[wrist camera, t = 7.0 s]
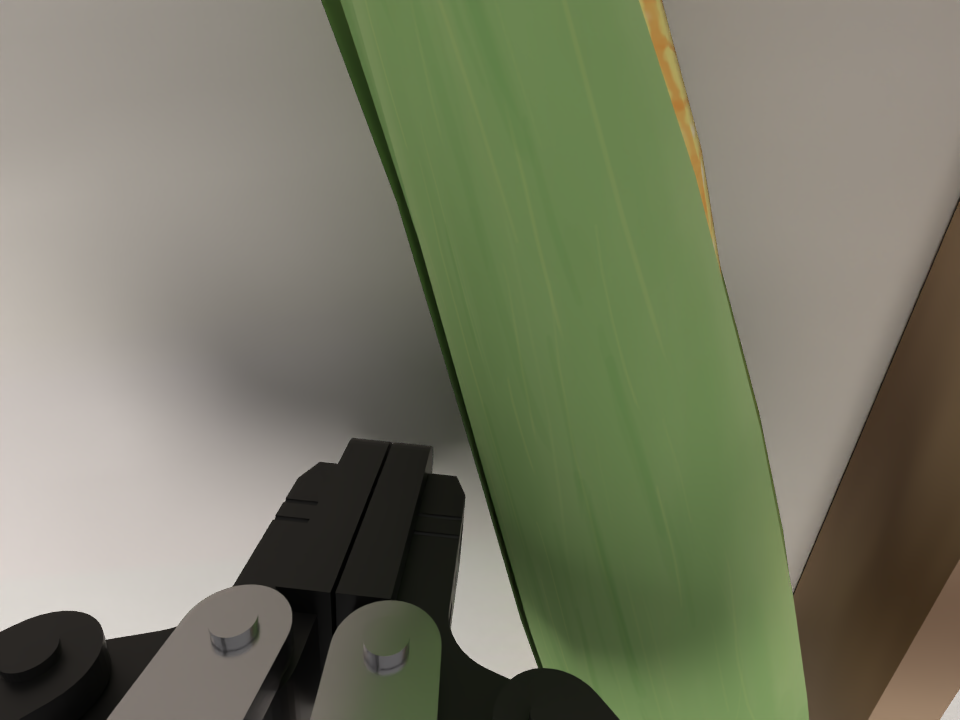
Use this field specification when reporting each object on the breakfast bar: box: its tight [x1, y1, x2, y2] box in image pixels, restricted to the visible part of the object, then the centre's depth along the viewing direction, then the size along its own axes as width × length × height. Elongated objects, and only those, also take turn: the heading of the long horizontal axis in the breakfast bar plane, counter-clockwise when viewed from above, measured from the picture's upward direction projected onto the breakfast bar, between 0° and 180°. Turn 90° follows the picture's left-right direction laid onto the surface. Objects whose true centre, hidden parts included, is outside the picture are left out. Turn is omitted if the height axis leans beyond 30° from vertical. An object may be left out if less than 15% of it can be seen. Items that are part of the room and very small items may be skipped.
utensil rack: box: [793, 201, 960, 720], centre depth 10 cm, size 28×12×3 cm, turn 176°
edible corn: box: [321, 0, 809, 720], centre depth 9 cm, size 5×20×5 cm
